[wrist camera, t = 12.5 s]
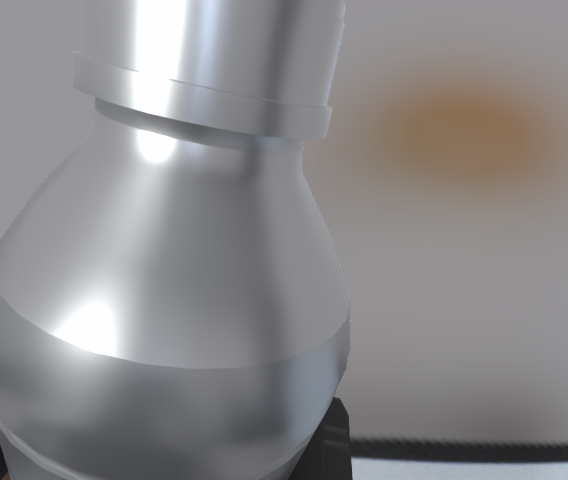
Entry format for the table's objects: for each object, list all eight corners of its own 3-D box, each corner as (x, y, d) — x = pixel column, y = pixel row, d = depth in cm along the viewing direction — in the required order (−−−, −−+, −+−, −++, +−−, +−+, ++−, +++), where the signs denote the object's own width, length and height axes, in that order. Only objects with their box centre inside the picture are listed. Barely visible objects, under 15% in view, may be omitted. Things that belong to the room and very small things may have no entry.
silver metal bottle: (135, 537, 17) (201, 7, 10) (265, 669, 14) (492, 55, 7) (-46, 715, 12) (-186, -134, 5) (101, 980, 9) (324, -172, 2)
